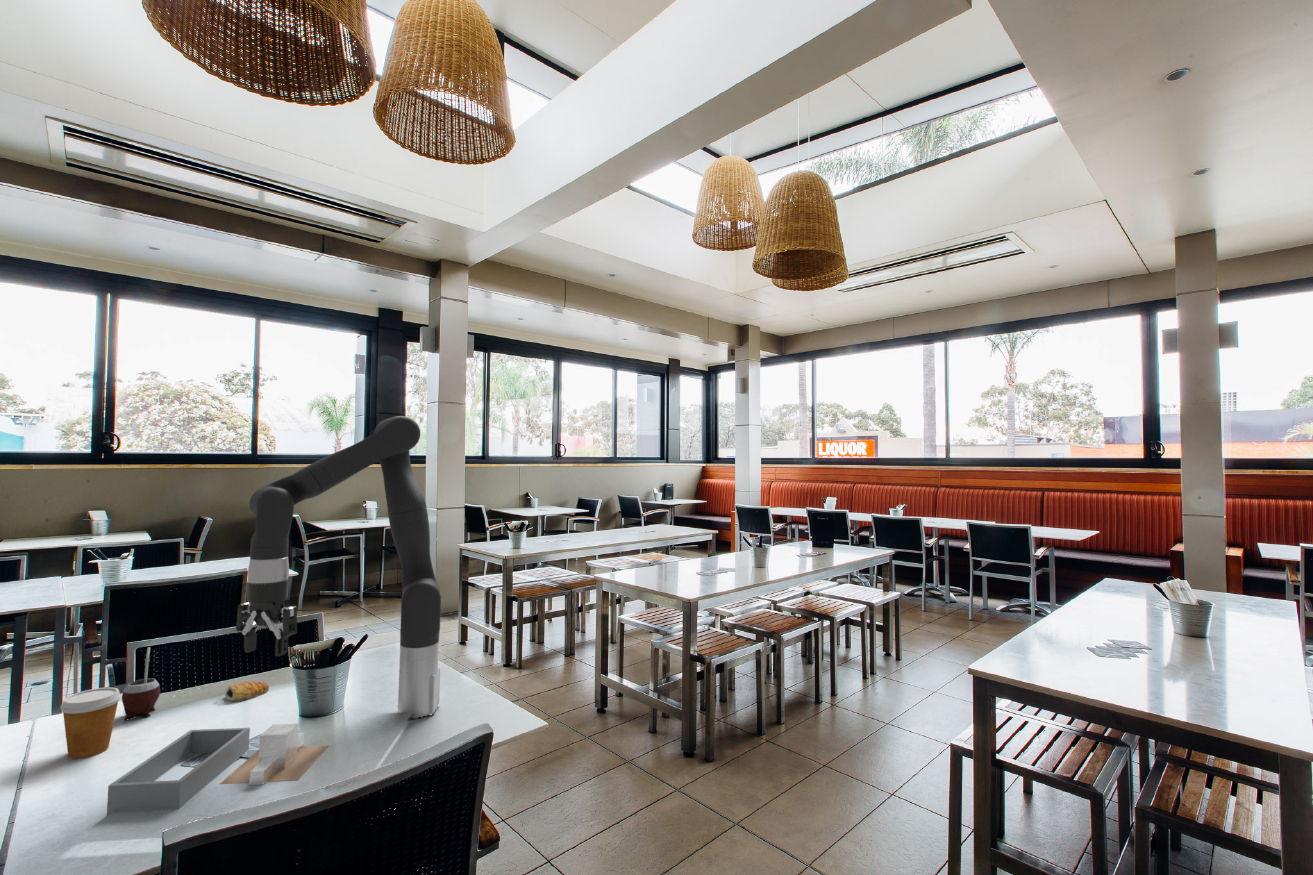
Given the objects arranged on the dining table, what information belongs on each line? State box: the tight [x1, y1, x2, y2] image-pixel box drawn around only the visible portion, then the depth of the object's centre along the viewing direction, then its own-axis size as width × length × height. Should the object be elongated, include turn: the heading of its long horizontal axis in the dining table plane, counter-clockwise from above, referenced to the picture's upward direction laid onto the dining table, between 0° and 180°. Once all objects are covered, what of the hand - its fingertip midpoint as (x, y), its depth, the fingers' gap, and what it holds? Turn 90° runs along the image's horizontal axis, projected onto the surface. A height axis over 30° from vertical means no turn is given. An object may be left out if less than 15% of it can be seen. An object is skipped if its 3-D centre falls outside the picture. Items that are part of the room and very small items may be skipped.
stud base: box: [219, 745, 330, 785], centre depth 120 cm, size 14×14×6 cm
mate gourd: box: [121, 646, 161, 721], centre depth 145 cm, size 8×8×15 cm
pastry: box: [224, 681, 270, 702], centre depth 157 cm, size 9×7×4 cm
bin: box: [106, 727, 251, 816], centre depth 114 cm, size 22×12×6 cm, turn 7°
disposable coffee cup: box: [59, 687, 122, 760], centre depth 126 cm, size 10×10×12 cm
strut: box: [248, 723, 305, 786], centre depth 120 cm, size 16×5×7 cm, turn 7°
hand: (265, 653), depth 128 cm, fingers open, 8 cm apart
